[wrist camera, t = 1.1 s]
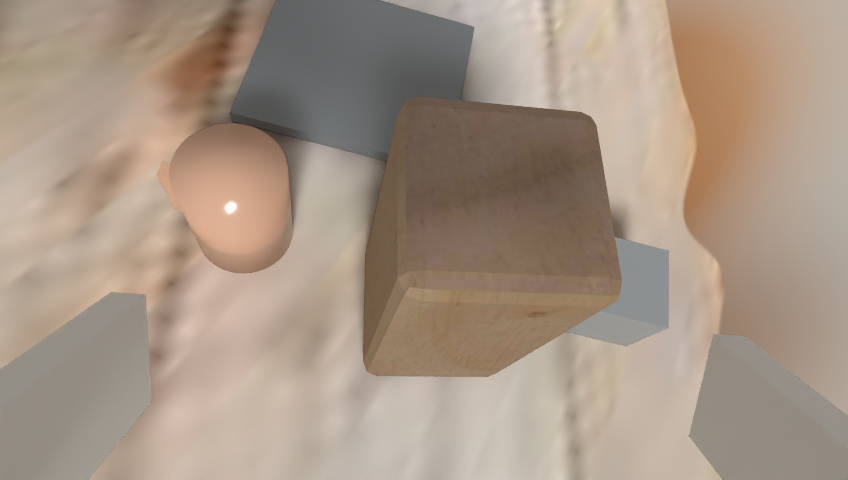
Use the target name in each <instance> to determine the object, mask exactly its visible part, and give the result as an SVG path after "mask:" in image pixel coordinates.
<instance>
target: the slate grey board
mask: <svg viewBox="0 0 848 480" xmlns="http://www.w3.org/2000/svg"><path fill="white" fill-rule="evenodd" d="M474 28H475V27H472V26H468V25H465V24H461V23H458V22H454V21H451V20H447V19H444V18H440V17H437V16H433V15H430V14H426V13H422V12H419V11H415V10H412V9H408V8H405V7H401V6H398V5H394V4H391V3H387V2H384V1H380V0H276V2H275V4H274V7H273V9H272V12H271V14H270V16H269V19H268V21H267V24H266V26H265V29H264V31H263V33H262V36H261V38H260V41H259V43H258V46H257V48H256V50H255V53H254V55H253V58H252V60H251V63H250V65H249V68H248V70H247V72H246V75H245V77H244V80H243V82H242V85H241V87H240V89H239V92H238V94H237V97H236V99H235V102H234V104H233V106H232V109H231V111H230V115H231V119H232V121H233V122H237V123H241V124H245V125H249V126H253V127H256V128H260V129H264V130H268V131H272V132H276V133H280V134H284V135H287V136H291V137H295V138H299V139H303V140H307V141H311V142H314V143H318V144H322V145H326V146H330V147H334V148H338V149H342V150H345V151H349V152H353V153H357V154H361V155H365V156H369V157H373V158H376V159H380V160H384V161H387V159H388V154H389V150H390V146H391V141H392V137H393V133H394V128H395V124H396V119H397V116H398V114H399V112H400V110H401V108H402V106H403V104H404V103H405V102H406V101H407V100H409V99H413V98H418V97H427V98H438V99H448V100H459V101H460V98H461V93H462V88H463V83H464V78H465V73H466V68H467V63H468V58H469V53H470V48H471V43H472V38H473V33H474Z"/></svg>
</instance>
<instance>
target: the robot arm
mask: <svg viewBox="0 0 848 480" xmlns="http://www.w3.org/2000/svg"><path fill="white" fill-rule="evenodd" d="M151 402H152V401H151V383H150V365H149V346H148V328H147V310H146V295H144V294H129V293H115V292H111V293H109V294H108V295H107V296H105V297H104V298H102V299H101V300H99V301H98V302H96V303H95V304H94V305H92V306H91V307H89V308H88V309H86V310H85V311H84V312H82V313H81V314H79V315H78V316H76V317H75V318H74V319H72V320H71V321H69V322H68V323H66V324H65V325H64V326H62V327H61V328H59V329H58V330H56V331H55V332H53V333H52V334H51V335H49V336H48V337H46V338H45V339H43V340H42V341H41V342H39V343H38V344H36V345H35V346H33V347H32V348H31V349H29V350H28V351H26V352H25V353H23V354H22V355H20V356H19V357H18V358H16V359H15V360H13V361H12V362H10V363H9V364H8V365H6V366H5V367H3V368H2V369H0V480H88V479H89V478H90V477H91V476H92V475H93V473H94V472H95V471H96V470H97V468H98V467H99V466H100V465H101V464H102V462H103V461H104V460H105V459H106V457H107V456H108V455H109V454H110V453H111V451H112V450H113V449H114V448H115V446H116V445H117V444H118V443H119V441H120V440H121V439H122V438H123V437H124V435H125V434H126V433H127V432H128V430H129V429H130V428H131V427H132V426H133V424H134V423H135V422H136V421H137V419H138V418H139V417H140V416H141V415H142V413H143V412H144V411H145V410H146V408H147V407H148V406H149V405H150V404H151ZM689 437H690V438H691V439H692V441H693V442H694V443H695V444H696V446H697V447H698V448H699V450H700V451H701V452H702V453H703V455H704V456H705V457H706V459H707V460H708V461H709V463H710V464H711V465H712V466H713V468H714V469H715V470H716V472H717V473H718V474H719V475H720V477H721V478H722V479H723V480H848V416H847V415H846V414H845V413H843V412H842V411H841V410H840V409H838V408H837V407H836V406H834V405H833V404H832V403H831V402H829V401H828V400H827V399H825V398H824V397H823V396H821V395H820V394H819V393H818V392H816V391H815V390H814V389H812V388H811V387H810V386H809V385H807V384H806V383H805V382H804V381H802V380H801V379H800V378H798V377H797V376H796V375H794V374H793V373H792V372H791V371H789V370H788V369H787V368H785V367H784V366H783V365H782V364H780V363H779V362H778V361H776V360H775V359H774V358H773V357H771V356H770V355H768V354H767V353H766V352H765V351H763V350H762V349H761V348H760V347H758V346H757V345H756V344H754V343H753V342H752V341H750V340H749V339H748V338H747V337H745V336H731V335H718V334H713V338H712V342H711V346H710V351H709V355H708V359H707V363H706V367H705V371H704V376H703V380H702V384H701V388H700V392H699V396H698V401H697V405H696V409H695V413H694V417H693V421H692V426H691V430H690V434H689Z"/></svg>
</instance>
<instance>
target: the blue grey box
mask: <svg viewBox="0 0 848 480" xmlns="http://www.w3.org/2000/svg"><path fill="white" fill-rule="evenodd" d="M615 241H616V247H617V253H618V259H619V265H620V271H621V277H622V285H621V291H620V295H619V298H618V300H617V301H616V302H615V303H613V304H611V305H610V306H608V307H606V308H605V309H603V310H601V311H600V312H598V313H596V314H595V315H593V316H591V317H590V318H588V319H586V320H584V321H583V322H581V323H579V324H578V325H576V326H574V327H573V328H571V329H569V330H568V331H566V332H568V333H573V334H577V335H581V336H585V337H589V338H593V339H598V340H602V341H606V342H610V343H614V344H619V345H623V346H628V345H630V344H633V343H635V342H637V341H640V340H642V339H644V338H646V337H649V336H651V335H653V334H656V333H658V332H660V331H662V330H665V329H667V328H668V315H669V251H668V250H664V249H660V248H656V247H652V246H648V245H644V244H640V243H636V242H632V241H629V240H625V239H621V238H617V237H615Z"/></svg>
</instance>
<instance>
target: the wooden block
mask: <svg viewBox="0 0 848 480" xmlns="http://www.w3.org/2000/svg"><path fill="white" fill-rule="evenodd" d="M621 285H622V277H621V271H620V265H619V259H618V253H617V247H616V241H615V235H614V229H613V223H612V217H611V211H610V205H609V199H608V193H607V187H606V181H605V175H604V169H603V163H602V157H601V151H600V145H599V139H598V132H597V126H596V124H595V122H594V121H593V119H592V118H591V117H590V116H588V115H586V114H584V113H582V112H575V111H565V110H554V109H543V108H533V107H522V106H512V105H501V104H490V103H480V102H469V101H459V100H448V99H438V98H427V97H418V98H413V99H409V100H407V101H406V102H405V103H404V104H403V106H402V108H401V110H400V112H399V114H398V116H397V119H396V124H395V128H394V133H393V137H392V141H391V146H390V150H389V154H388V159H387V163H386V168H385V172H384V176H383V181H382V185H381V190H380V194H379V198H378V203H377V207H376V211H375V216H374V220H373V225H372V229H371V233H370V238H369V242H368V247H367V251H366V255H365V303H364V351H363V362H364V364H365V367H366V370H367V372H370V373H372V374H374V375H376V376H448V377H488V376H491V375H493V374H495V373H497V372H499V371H501V370H502V369H504V368H506V367H507V366H509V365H511V364H512V363H514V362H516V361H517V360H519V359H521V358H523V357H524V356H526V355H528V354H529V353H531V352H533V351H534V350H536V349H538V348H539V347H541V346H543V345H544V344H546V343H548V342H549V341H551V340H553V339H554V338H556V337H558V336H559V335H561V334H563V333H564V332H566V331H568V330H569V329H571V328H573V327H574V326H576V325H578V324H579V323H581V322H583V321H584V320H586V319H588V318H590V317H591V316H593V315H595V314H596V313H598V312H600V311H601V310H603V309H605V308H606V307H608V306H610V305H611V304H613V303H615V302H616V301H617V300H618V298H619V295H620V291H621Z"/></svg>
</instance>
